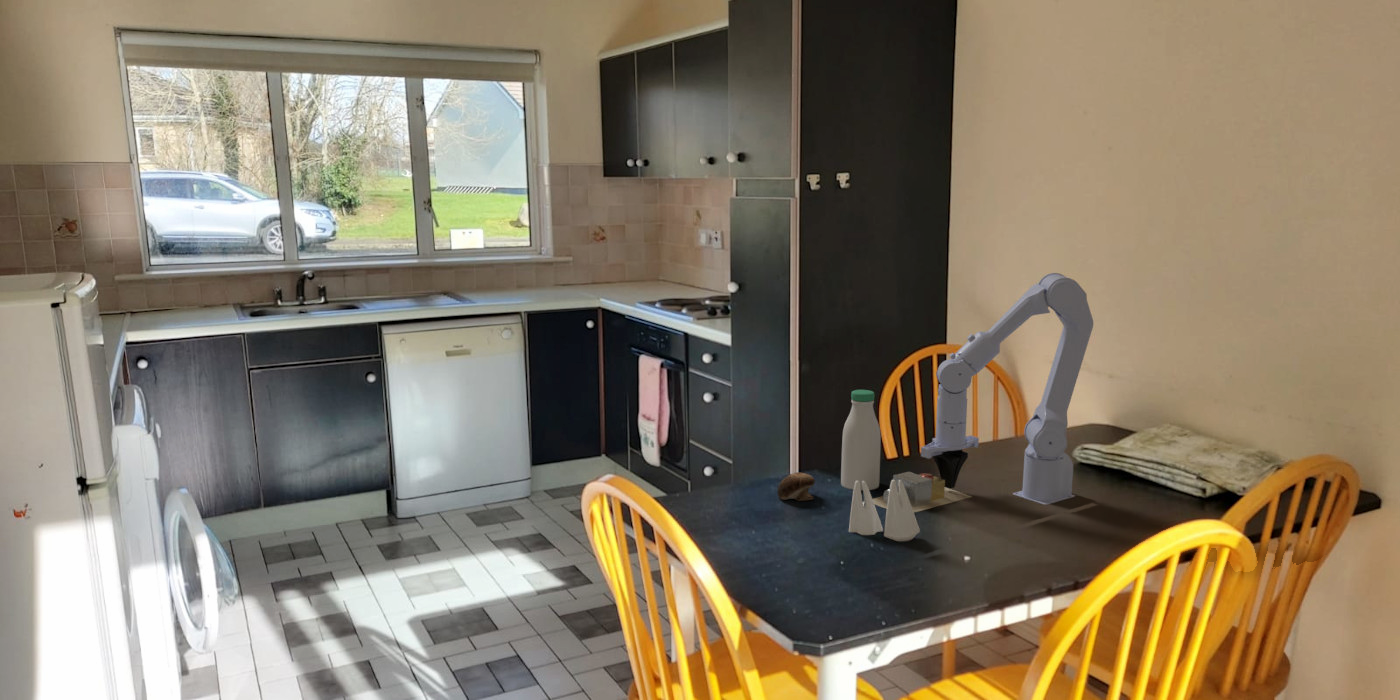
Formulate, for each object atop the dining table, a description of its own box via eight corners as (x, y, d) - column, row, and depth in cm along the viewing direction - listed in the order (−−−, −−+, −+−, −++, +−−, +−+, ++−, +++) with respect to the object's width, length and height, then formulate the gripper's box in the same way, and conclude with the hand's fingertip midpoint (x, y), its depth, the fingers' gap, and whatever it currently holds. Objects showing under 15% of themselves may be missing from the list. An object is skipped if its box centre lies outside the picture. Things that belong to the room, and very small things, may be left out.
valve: (927, 491, 196) (927, 470, 195) (944, 497, 192) (945, 475, 191) (900, 498, 191) (900, 476, 191) (916, 504, 188) (917, 482, 187)
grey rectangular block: (908, 494, 194) (909, 471, 193) (930, 502, 189) (931, 479, 188) (877, 502, 189) (878, 478, 188) (900, 511, 184) (900, 487, 183)
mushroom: (828, 490, 188) (811, 461, 189) (793, 510, 186) (776, 481, 187) (817, 497, 196) (801, 469, 197) (784, 516, 193) (768, 488, 195)
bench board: (933, 486, 201) (933, 483, 200) (972, 499, 192) (972, 496, 192) (865, 503, 190) (865, 500, 190) (903, 518, 182) (903, 515, 182)
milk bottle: (881, 493, 196) (885, 396, 192) (843, 493, 196) (846, 395, 193) (875, 481, 204) (879, 387, 200) (838, 481, 204) (841, 387, 200)
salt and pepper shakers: (920, 540, 171) (923, 480, 169) (912, 548, 168) (915, 486, 166) (855, 528, 177) (857, 469, 175) (847, 535, 174) (848, 475, 172)
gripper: (960, 411, 200) (957, 475, 203) (910, 421, 192) (907, 488, 195) (988, 418, 194) (984, 484, 197) (937, 429, 186) (934, 497, 189)
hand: (948, 486), depth 195 cm, fingers closed
